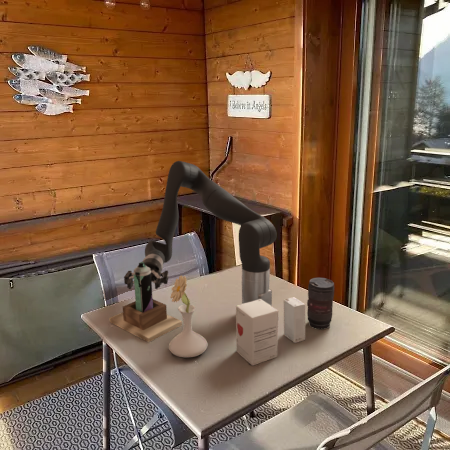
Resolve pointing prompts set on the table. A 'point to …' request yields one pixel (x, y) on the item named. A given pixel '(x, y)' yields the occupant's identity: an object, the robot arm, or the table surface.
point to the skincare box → (294, 319)
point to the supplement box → (256, 331)
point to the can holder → (146, 321)
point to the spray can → (143, 288)
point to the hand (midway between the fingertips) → (142, 286)
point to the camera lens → (320, 302)
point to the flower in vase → (185, 325)
